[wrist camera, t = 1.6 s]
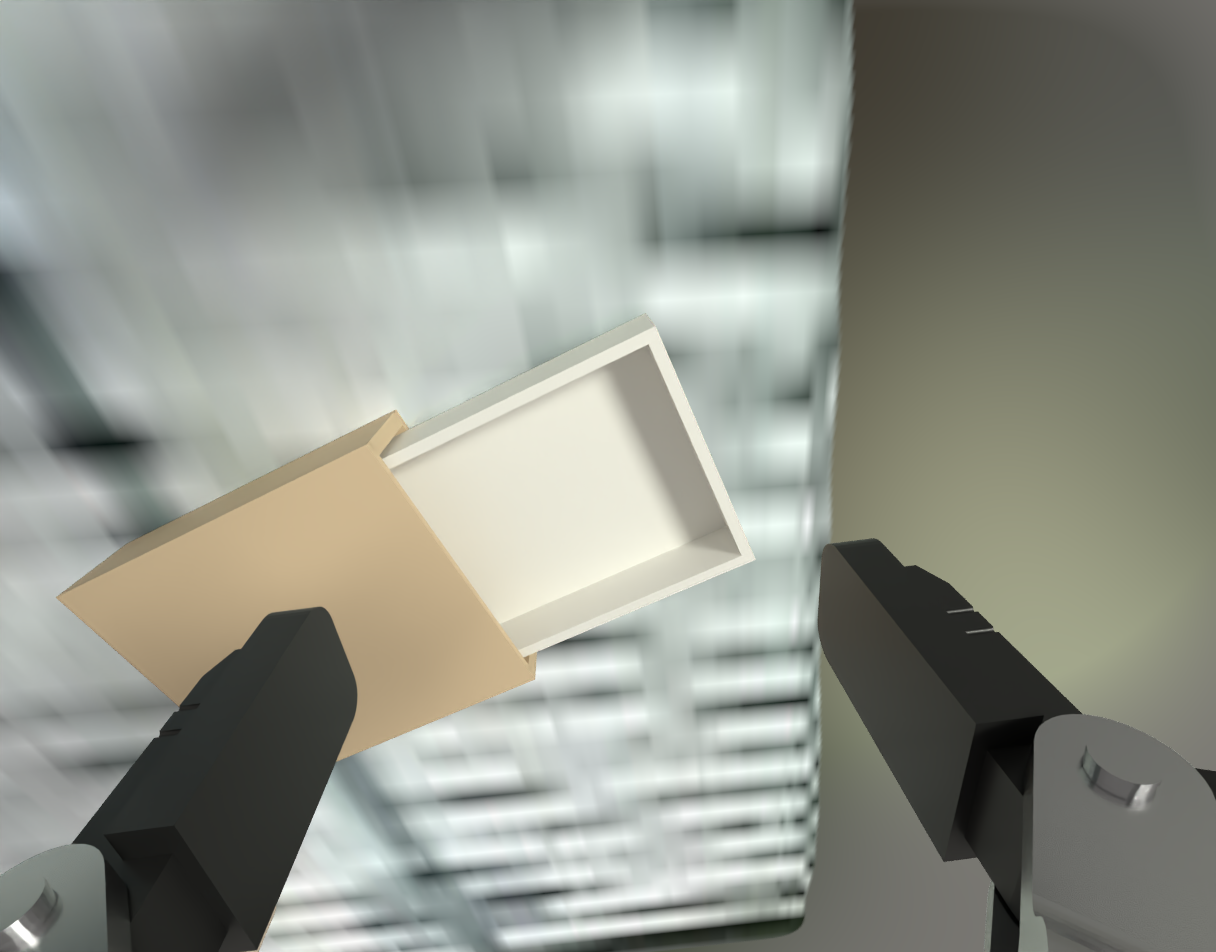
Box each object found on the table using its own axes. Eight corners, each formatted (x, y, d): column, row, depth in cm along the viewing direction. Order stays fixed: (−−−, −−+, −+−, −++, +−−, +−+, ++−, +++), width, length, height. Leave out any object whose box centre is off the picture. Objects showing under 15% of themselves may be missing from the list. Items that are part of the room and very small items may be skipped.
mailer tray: (645, 312, 29) (655, 325, 25) (738, 527, 34) (755, 559, 31) (132, 565, 33) (85, 603, 29) (290, 719, 38) (265, 766, 35)
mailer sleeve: (396, 409, 31) (366, 444, 26) (538, 622, 37) (535, 679, 32) (126, 544, 33) (55, 597, 28) (305, 721, 39) (271, 788, 35)
